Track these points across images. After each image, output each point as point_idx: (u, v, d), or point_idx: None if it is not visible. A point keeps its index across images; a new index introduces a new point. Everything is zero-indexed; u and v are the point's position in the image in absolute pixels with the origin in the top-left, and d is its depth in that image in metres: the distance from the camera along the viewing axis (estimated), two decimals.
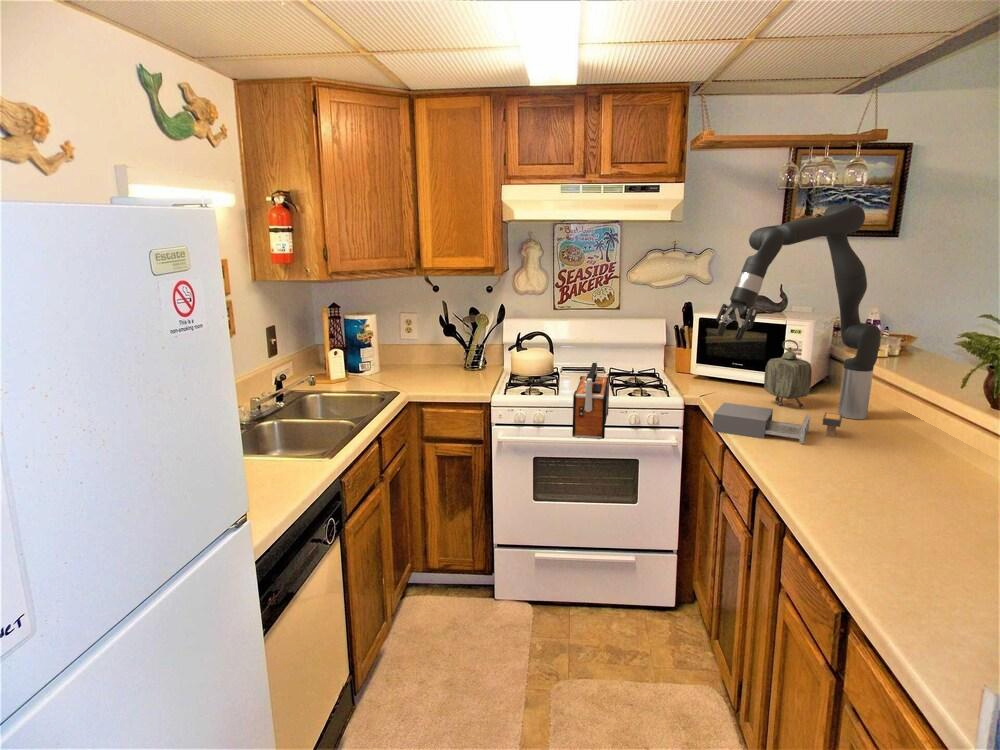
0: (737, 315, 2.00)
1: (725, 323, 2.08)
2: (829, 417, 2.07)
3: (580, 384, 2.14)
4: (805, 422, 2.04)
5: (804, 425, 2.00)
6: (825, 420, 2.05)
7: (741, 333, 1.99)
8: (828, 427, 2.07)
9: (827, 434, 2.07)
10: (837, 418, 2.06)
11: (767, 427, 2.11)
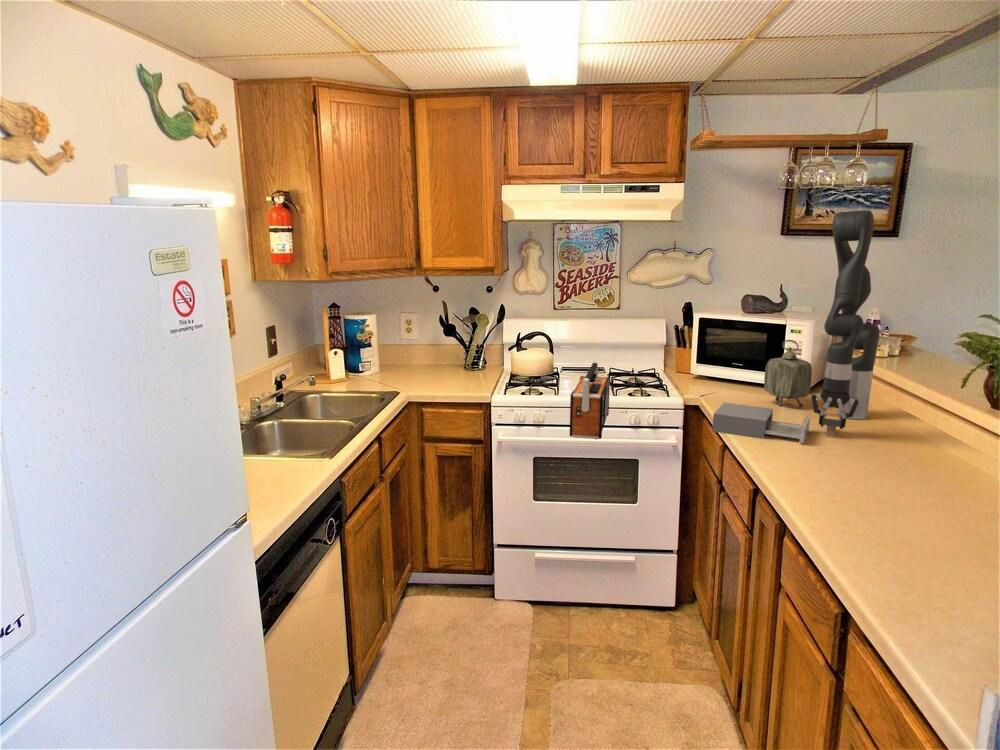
0: (840, 405, 2.05)
1: None
2: (829, 417, 2.07)
3: (579, 384, 2.14)
4: (805, 422, 2.04)
5: (804, 425, 2.00)
6: (825, 420, 2.05)
7: (845, 422, 2.06)
8: (828, 427, 2.07)
9: (827, 434, 2.07)
10: (837, 418, 2.06)
11: (767, 427, 2.11)
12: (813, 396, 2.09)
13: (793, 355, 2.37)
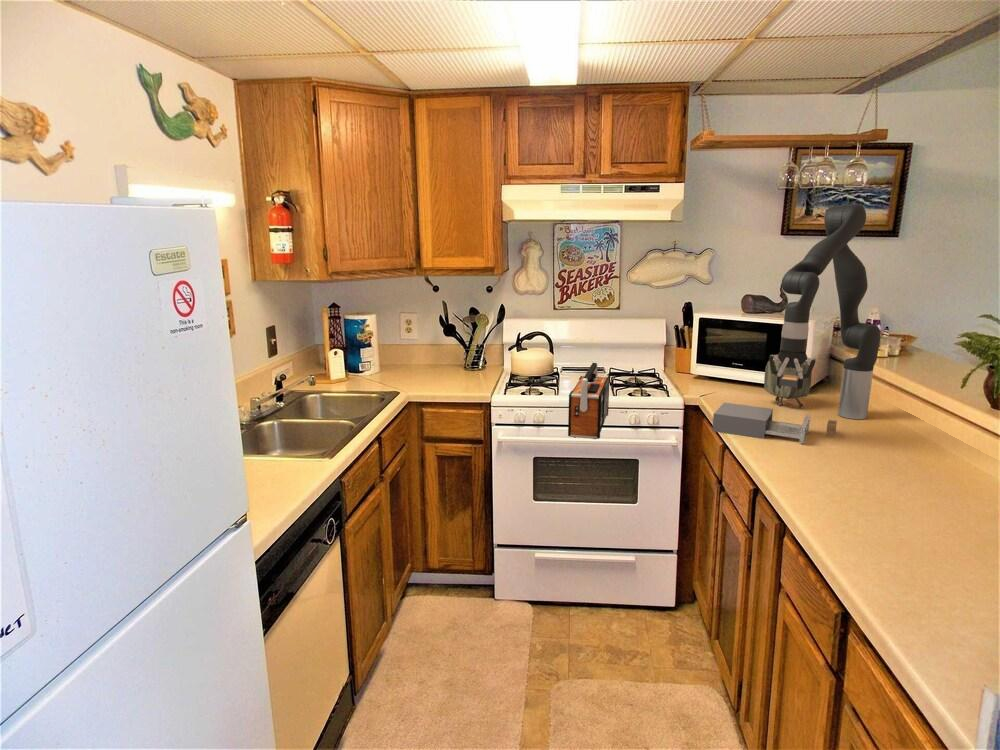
0: (797, 366, 2.01)
1: None
2: (786, 378, 2.04)
3: (578, 384, 2.14)
4: (805, 422, 2.04)
5: (804, 425, 2.00)
6: (782, 380, 2.02)
7: (802, 383, 2.03)
8: (828, 427, 2.07)
9: (827, 434, 2.07)
10: (794, 379, 2.02)
11: (767, 427, 2.11)
12: (770, 357, 2.05)
13: None
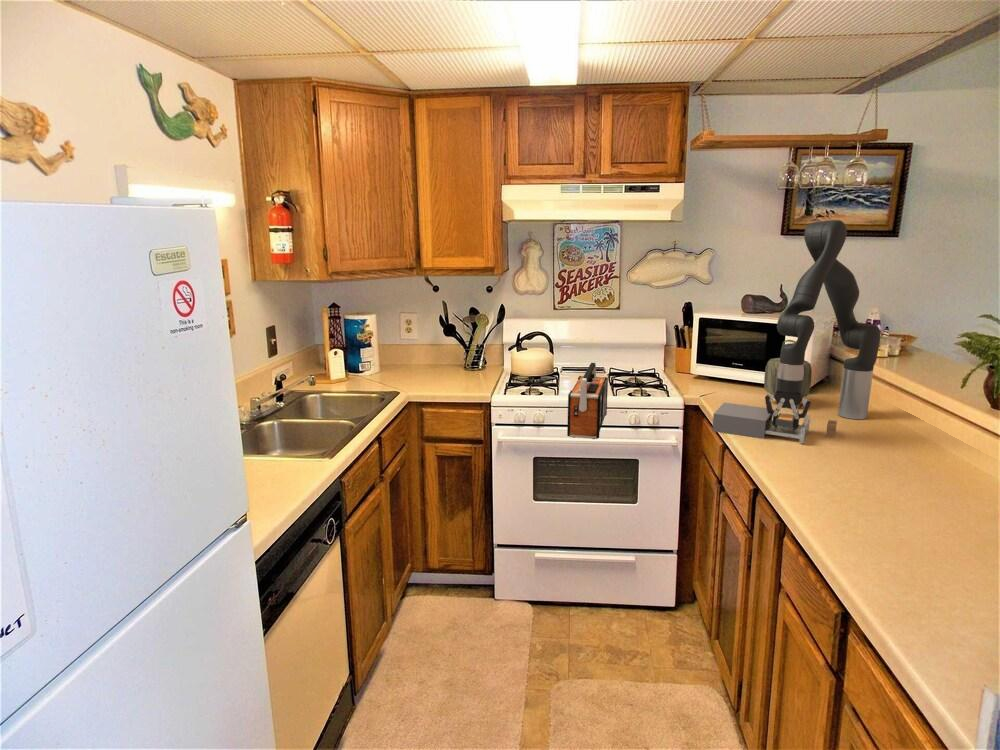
0: (793, 406, 2.04)
1: (777, 412, 2.09)
2: (782, 418, 2.06)
3: (577, 384, 2.14)
4: (805, 422, 2.04)
5: (804, 425, 2.00)
6: (778, 421, 2.05)
7: (798, 423, 2.06)
8: (828, 427, 2.07)
9: (827, 434, 2.07)
10: (790, 419, 2.05)
11: (767, 427, 2.11)
12: (766, 397, 2.08)
13: None
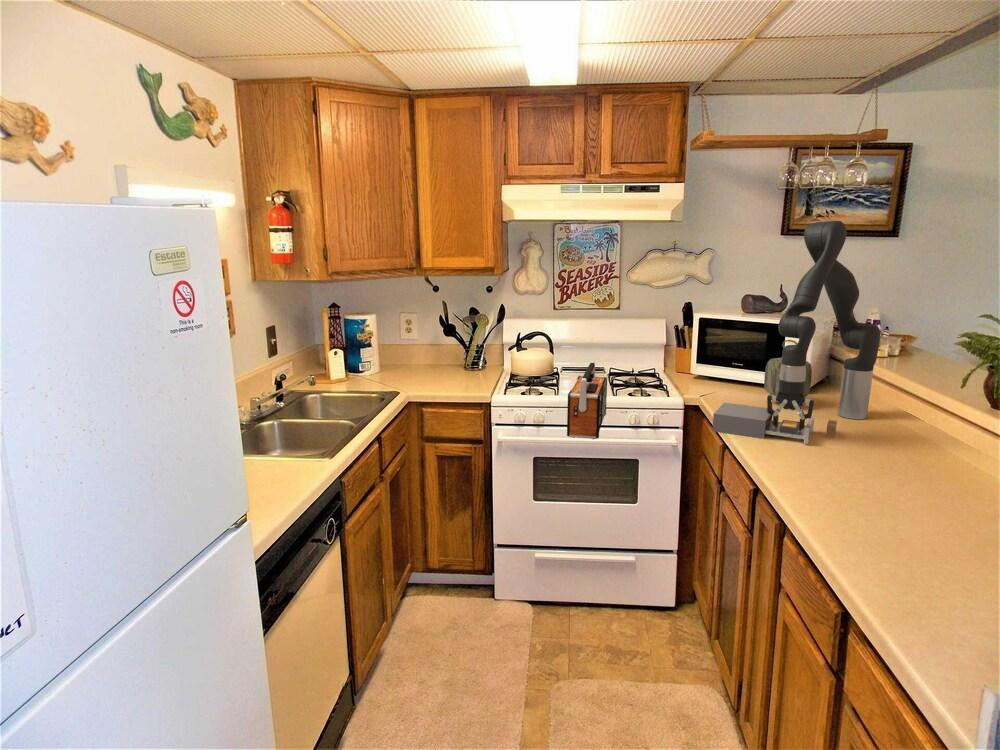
0: (796, 407, 2.04)
1: None
2: (786, 425, 2.06)
3: (576, 384, 2.14)
4: (809, 422, 2.03)
5: (808, 426, 2.00)
6: (782, 428, 2.05)
7: (804, 423, 2.05)
8: (828, 427, 2.07)
9: (827, 434, 2.07)
10: (794, 426, 2.05)
11: (771, 428, 2.10)
12: (769, 397, 2.08)
13: None
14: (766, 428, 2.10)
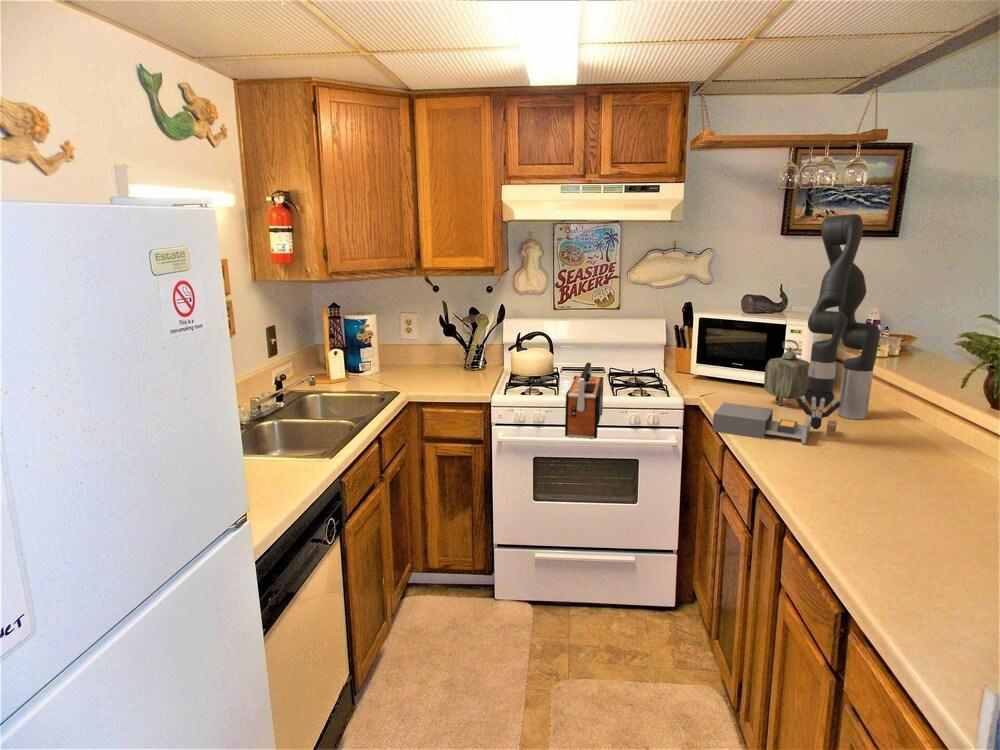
0: (821, 405, 2.00)
1: None
2: (784, 424, 2.07)
3: (573, 384, 2.14)
4: (807, 422, 2.04)
5: (806, 425, 2.00)
6: (779, 427, 2.05)
7: None
8: (828, 427, 2.07)
9: (827, 434, 2.07)
10: (791, 425, 2.06)
11: (769, 427, 2.10)
12: (798, 399, 2.04)
13: (793, 355, 2.37)
14: None
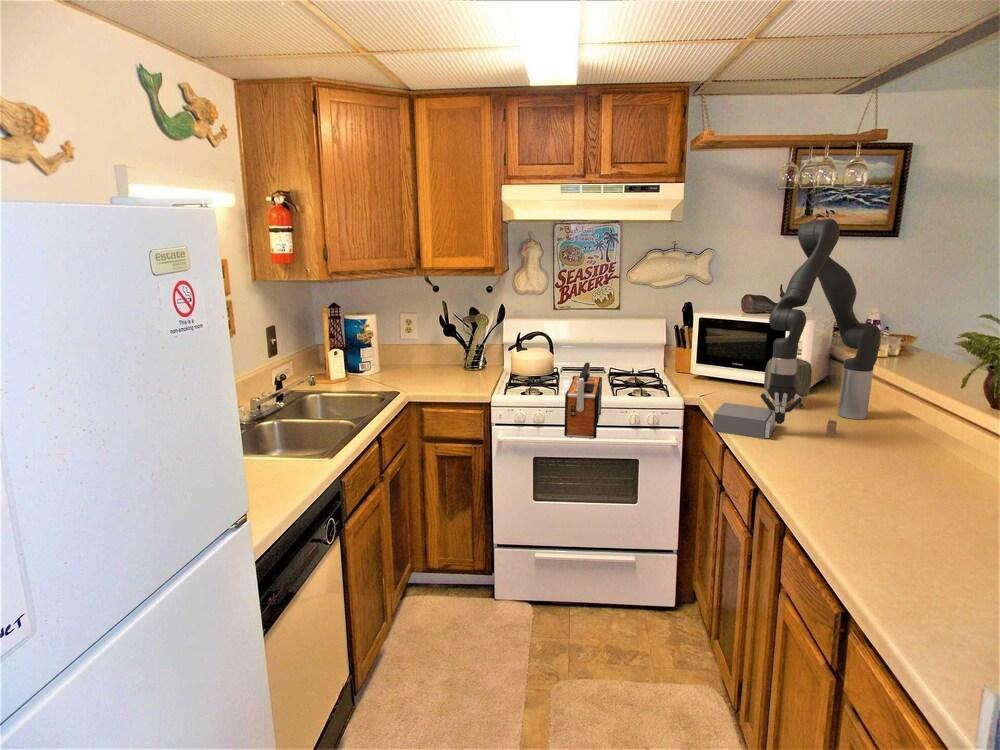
0: (784, 400, 2.05)
1: (779, 408, 2.09)
2: None
3: (572, 384, 2.14)
4: (771, 417, 2.09)
5: (769, 420, 2.05)
6: None
7: (784, 417, 2.08)
8: (828, 427, 2.07)
9: (827, 434, 2.07)
10: None
11: None
12: (762, 395, 2.09)
13: None
14: None
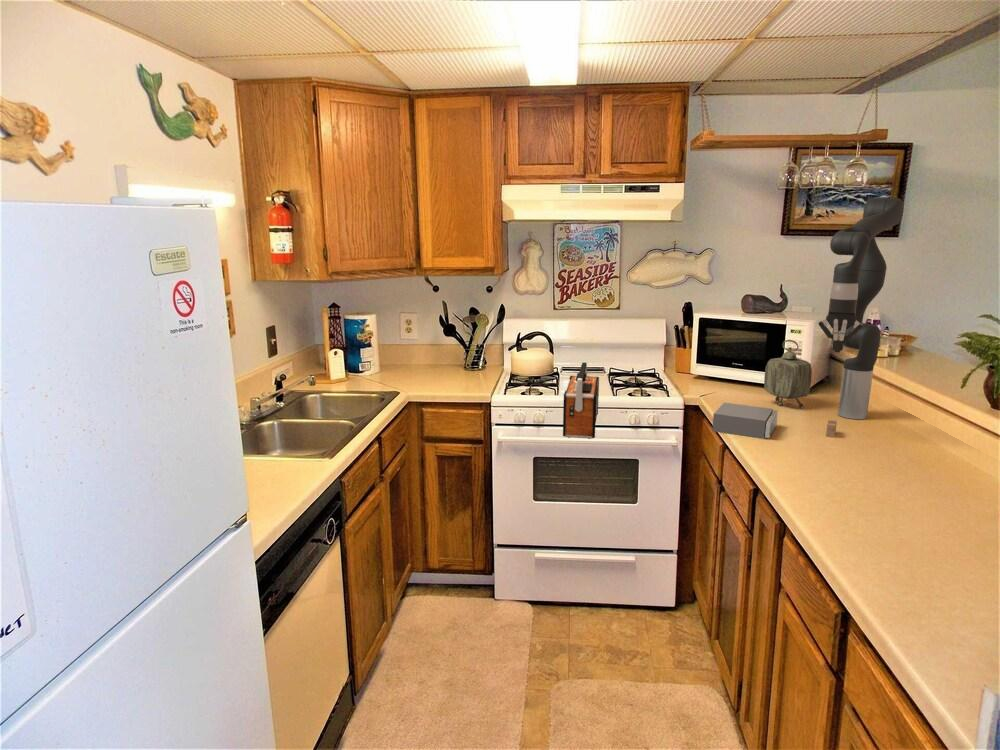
0: (843, 327, 2.01)
1: None
2: None
3: (570, 384, 2.14)
4: (771, 417, 2.09)
5: (769, 420, 2.05)
6: None
7: None
8: (828, 427, 2.07)
9: (827, 434, 2.07)
10: None
11: None
12: (820, 323, 2.04)
13: (793, 355, 2.37)
14: None
